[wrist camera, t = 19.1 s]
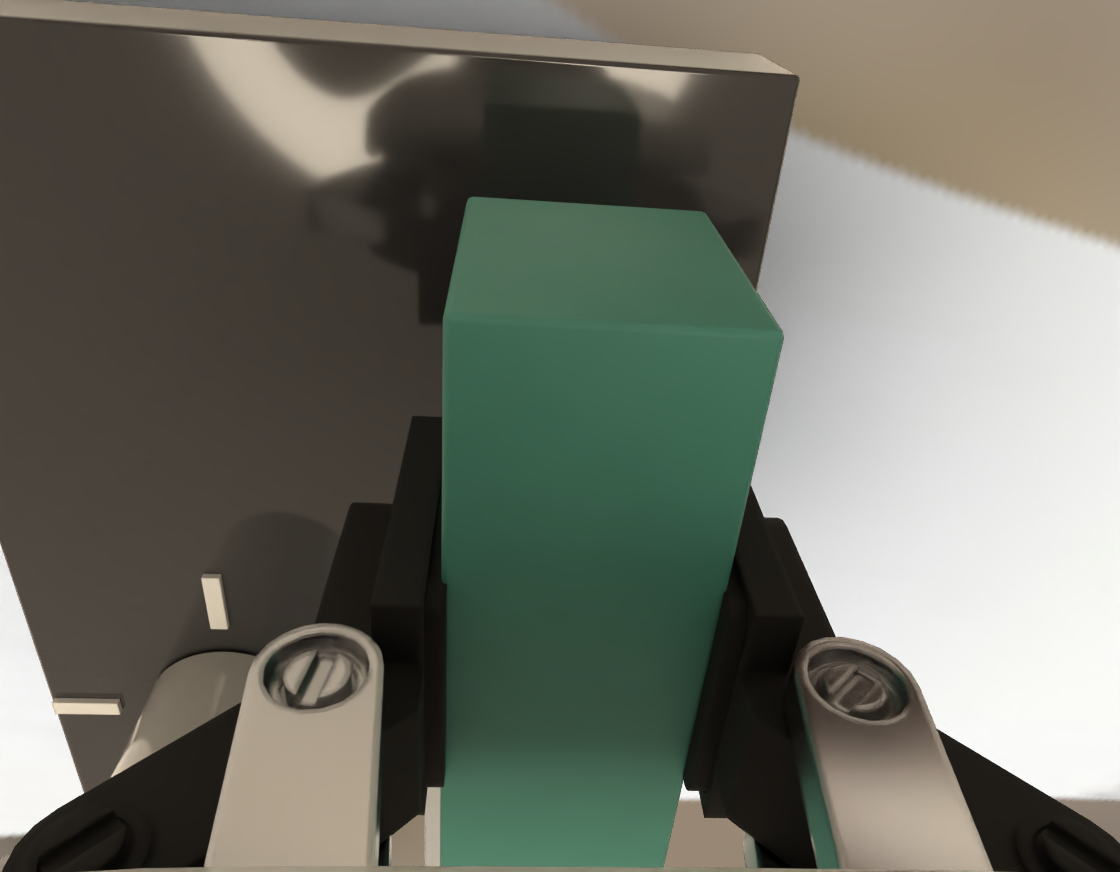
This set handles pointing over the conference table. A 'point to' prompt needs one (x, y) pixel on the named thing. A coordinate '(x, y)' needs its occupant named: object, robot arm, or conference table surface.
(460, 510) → the teal post
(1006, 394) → the conference table surface
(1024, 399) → the conference table surface
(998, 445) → the conference table surface
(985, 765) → the robot arm
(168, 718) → the dial
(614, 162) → the hob
